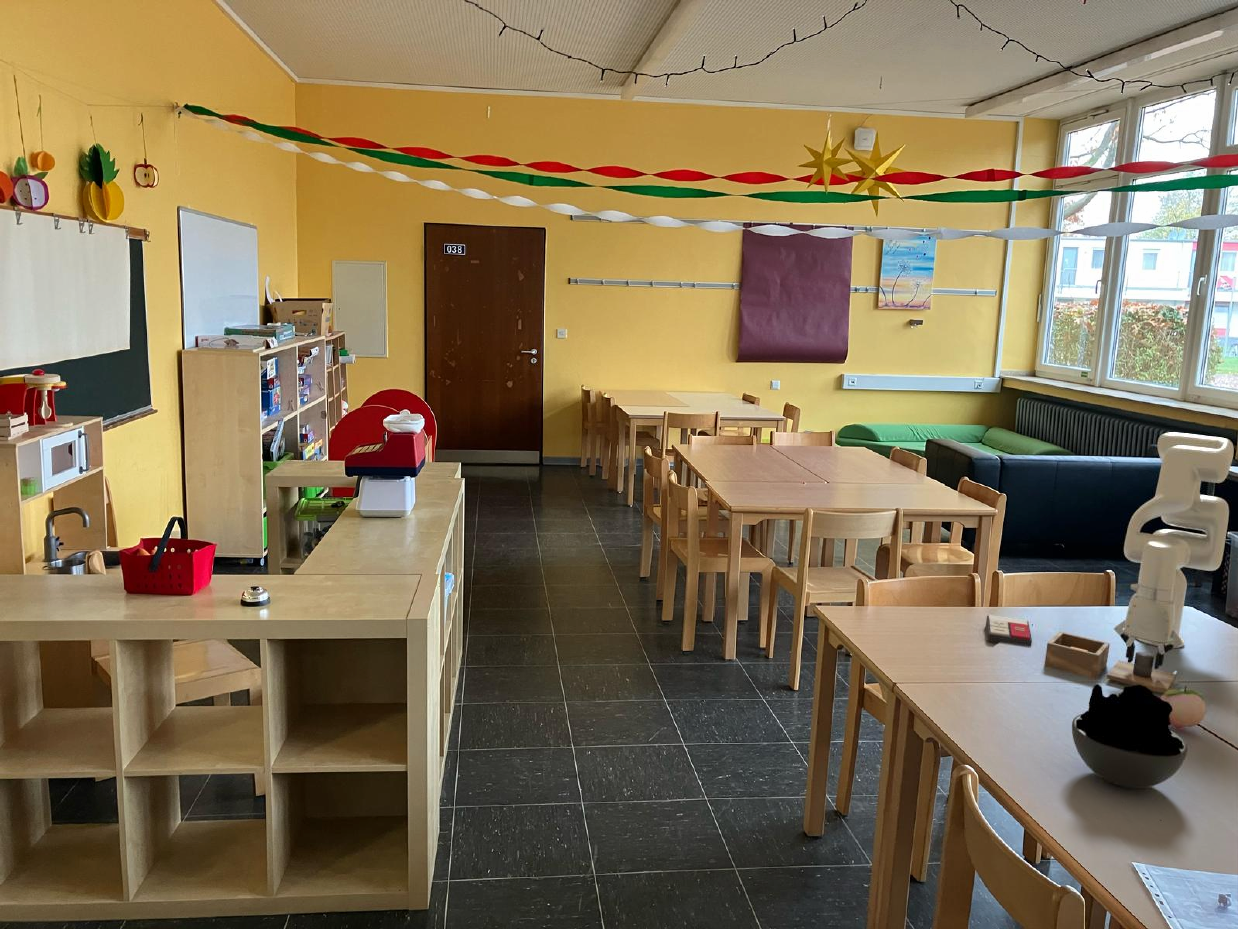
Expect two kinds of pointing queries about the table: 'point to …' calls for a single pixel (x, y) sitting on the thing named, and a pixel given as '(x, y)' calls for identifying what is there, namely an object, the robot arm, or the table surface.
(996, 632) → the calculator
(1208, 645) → the table surface
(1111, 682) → the mat
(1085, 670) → the storage box
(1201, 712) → the decorative fruit
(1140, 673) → the lid
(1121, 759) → the coal bowl
